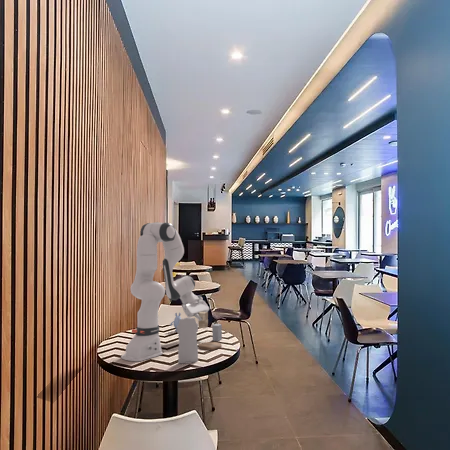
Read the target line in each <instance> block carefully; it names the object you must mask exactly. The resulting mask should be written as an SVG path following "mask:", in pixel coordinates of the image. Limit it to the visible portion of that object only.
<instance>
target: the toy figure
mask: <svg viewBox="0 0 450 450" xmlns="http://www.w3.org/2000/svg"><path fill="white" fill-rule="evenodd" d="M181 315H182V314H181V312H179V313H178V312H175V314H174V316H175V318H174V319H173V321H172V322H170V323H169V326H170V327H171V326H173V327H174V328H175V329H174V332H177V326H178V325H179V321H180V319H182V317H181Z"/></svg>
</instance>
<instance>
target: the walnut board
mask: <svg viewBox="0 0 450 450" xmlns="http://www.w3.org/2000/svg"><path fill="white" fill-rule="evenodd" d="M197 346H198V350H202V351H214V350H216V351H217V350H218V349H221V348H222V343H220V342H219V341H204V342H201V343H199V344H197Z"/></svg>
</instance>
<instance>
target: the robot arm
mask: <svg viewBox="0 0 450 450" xmlns="http://www.w3.org/2000/svg"><path fill="white" fill-rule="evenodd" d="M139 233H140V234H139V235H140V236H139V238H138V240H137V245H136V271H135V277H134V279H133V282H132V283H131V284H130V285H131V286H130V289H129V290H130V294H131V295H132V296H133V297H135V298H136V299H138V300H141V304H140V307H139V310H138V311H137V316H136V317H137V326H136V328H132V329H131V333H132V334H135V335H134V336H133V337H132V338H131V340H130V341H129V342H128V344H126V347H125V353H123V354H122V355H121V356H120V358H121V359H122V360H125V361H129V362H143V361H145V360H149V359H153V358H155V357H159V356H161V355H163V350H162V345H161V338H160V335H159V333H160V325H159V310H160V309H159V308H160V304H161V302H162V300H163V298H164V297H165V294H166V297H167V298H168V300H171V301H177V300H178V299H180V301H181V303H182V304H181V308H182V309H183V313H185V315H186V316H187V318H188V317H189V318H195V319H198V322H199V321H202V320H203V318H202V317H200V316H199V313H200V312H208V313H209V311H210V306H208V304H207V303H206V301H205V300H203V297H202V296H199V295H196V294H194V292H193V290H194V289H195V286H196V282H195V280H194V278H193V277H192V276H190V275H184V276H183V277H181V278H177V279H175V280H174V274H173V270H174V267H175V266H176V265H177V264H178V262H179V261H181V259H183V256H184V254H185V247H184V244H183V242H182V238H181V236H180V233H178V230H177V229H176V228H175V226H174V225H173V224H172V223H171V222H170V223H169V222H158V221H157V222H149V223H145V224H143V225H142V226H141V228H140V232H139ZM158 243H162V245H163V250H164V259H163V260H162V269H163V271H162V272H163V276H164V283H165V287H164V285H163V284H161V283H160V282H158V281H157V280H156V281H155V280H154V277H155V273H156V271H157V270H158Z"/></svg>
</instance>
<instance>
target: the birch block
mask: <svg viewBox="0 0 450 450" xmlns="http://www.w3.org/2000/svg"><path fill="white" fill-rule="evenodd" d="M199 316H200V317H202V318H203V320H202V321H199V320H198V329H207V328H209V327H208V326H209V325H208V324H209V319H208V318H209V311H208V312H200V313H199Z"/></svg>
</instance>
